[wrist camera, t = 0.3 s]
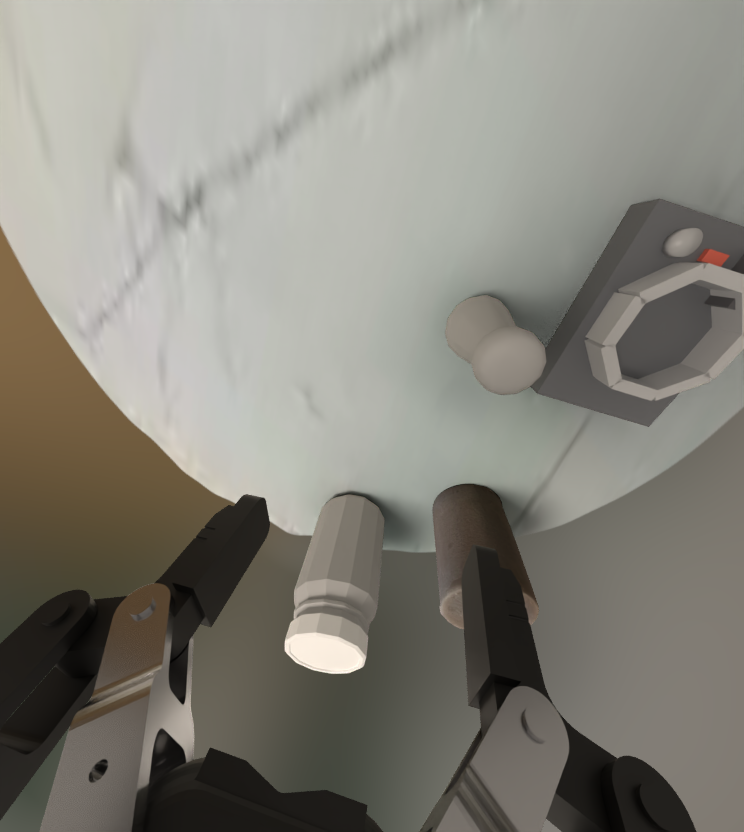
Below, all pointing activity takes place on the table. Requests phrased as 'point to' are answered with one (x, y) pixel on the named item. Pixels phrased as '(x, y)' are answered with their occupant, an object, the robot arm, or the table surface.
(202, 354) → the table surface
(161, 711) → the robot arm
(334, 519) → the jar
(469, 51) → the table surface
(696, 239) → the octagon ring base
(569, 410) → the table surface
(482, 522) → the pillar candle
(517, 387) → the salt shaker
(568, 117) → the table surface
